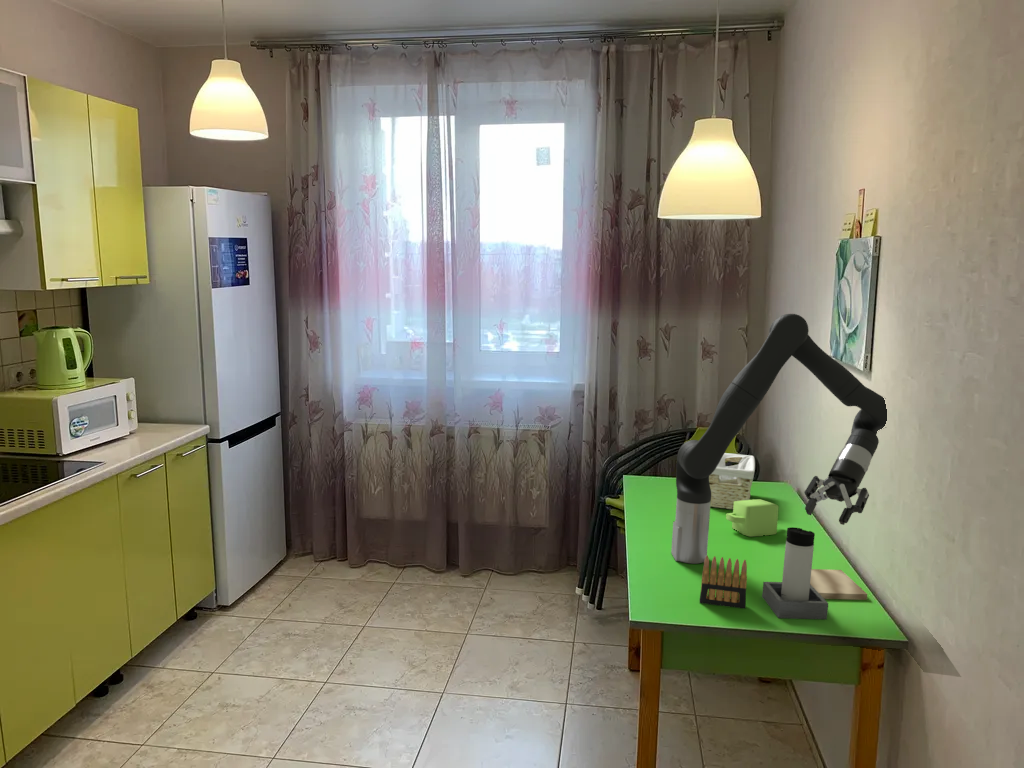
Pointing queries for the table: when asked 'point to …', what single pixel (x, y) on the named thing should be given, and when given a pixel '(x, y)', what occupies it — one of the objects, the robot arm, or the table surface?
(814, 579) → the beige wavy board
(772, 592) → the socket collar
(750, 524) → the lime tabbed block
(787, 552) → the travel mug
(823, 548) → the table surface
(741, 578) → the ammunition clip
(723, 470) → the storage basket
